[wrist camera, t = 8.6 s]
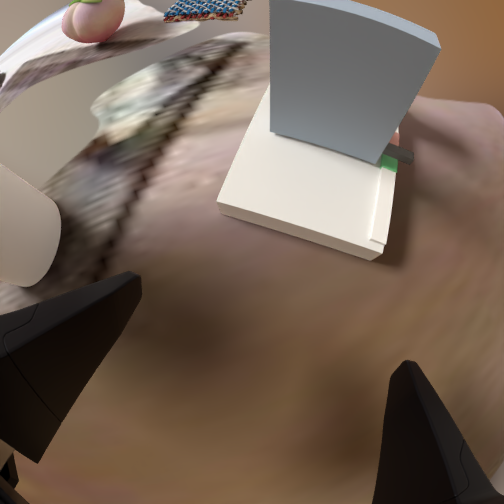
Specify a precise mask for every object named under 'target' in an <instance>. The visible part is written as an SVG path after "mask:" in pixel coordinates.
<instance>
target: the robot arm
mask: <svg viewBox="0 0 504 504" xmlns="http://www.w3.org/2000/svg"><path fill="white" fill-rule="evenodd" d="M141 297H142V286H141V277H140V275H139V274H136V273H134V272H132V271H127V272H124V273H122V274H119V275H116V276H113V277H110V278H107V279H104V280H101V281H98V282H95V283H93V284H90V285H87V286H84V287H81V288H78V289H76V290H73V291H70V292H67V293H64V294H62V295H59V296H56V297H53V298H50V299H48V300H45V301H42V302H40V303H37V304H34V305H31V306H28V307H26V308H23V309H20V310H17V311H14V312H10V313H7V314H3V315H0V504H29V503H28V502H27V501H26V500H25V499H24V498H23V497H22V496H21V495H20V494H19V493H17V492H16V491H15V490H14V488H15V487H16V485H17V483H18V482H19V479H18V475H17V470H16V465H15V460H14V455H13V452H14V450H16V451H18V452H19V453H21V454H22V455H24V456H25V457H27V458H29V459H30V460H32V461H33V462H35V463H37V464H38V463H39V461H40V460H41V458H42V456H43V454H44V452H45V451H46V449H47V447H48V445H49V444H50V442H51V440H52V439H53V437H54V435H55V434H56V432H57V430H58V429H59V427H60V425H61V423H62V422H63V420H64V418H65V417H66V415H67V414H68V412H69V410H70V409H71V407H72V406H73V404H74V403H75V401H76V399H77V398H78V396H79V395H80V393H81V392H82V390H83V389H84V387H85V386H86V384H87V383H88V381H89V380H90V378H91V377H92V375H93V374H94V372H95V371H96V369H97V368H98V366H99V365H100V363H101V362H102V360H103V359H104V358H105V356H106V355H107V353H108V352H109V350H110V349H111V348H112V346H113V345H114V343H115V342H116V340H117V339H118V338H119V336H120V335H121V333H122V331H123V330H124V328H125V326H126V324H127V322H128V321H129V319H130V317H131V315H132V314H133V312H134V310H135V308H136V307H137V305H138V303H139V302H140V300H141ZM372 504H504V496H503V495H501V494H500V493H498V492H497V491H496V490H495V489H494V487H493V486H492V484H491V483H490V481H489V479H488V478H487V476H486V474H485V473H484V471H483V470H482V468H481V467H480V465H479V463H478V462H477V460H476V459H475V457H474V455H473V453H472V452H471V450H470V448H469V446H468V445H467V443H466V441H465V439H463V436H462V434H461V432H460V431H459V429H458V427H457V425H456V424H455V422H454V420H453V419H452V417H451V415H450V414H449V412H448V410H447V409H446V407H445V406H444V404H443V402H442V401H441V399H440V398H439V396H438V394H437V393H436V391H435V390H434V388H433V387H432V385H431V384H430V382H429V381H428V379H427V378H426V376H425V374H424V373H423V372H422V370H421V369H420V367H419V366H418V364H417V363H416V362H414V361H410V360H405V361H403V362H402V363H401V365H400V366H399V367H398V368H397V369H396V370H395V371H394V373H393V374H392V375H391V378H390V382H389V390H388V397H387V403H386V409H385V415H384V423H383V434H382V444H381V452H380V460H379V467H378V474H377V480H376V485H375V491H374V496H373V501H372Z"/></svg>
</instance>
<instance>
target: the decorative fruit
mask: <svg viewBox="0 0 504 504" xmlns="http://www.w3.org/2000/svg"><path fill="white" fill-rule="evenodd" d="M124 11H125V3H124V0H74V1H72V2H71V3H70V4H69V8H68V9H67V11H66V12H65V14H64V16H63V19H62V31H63V33H64V34H65V35H66V36H67V37H69V38H71V39H73V40H75V41H78V42H82V43H97V42H104V41H106V40H107V39H108V38H109V37H110V36H111V35H112V34H113V33H114V32H115V31H116V30H117V29H118V27H119V26H120V24H121V22H122V20H123V17H124Z"/></svg>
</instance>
